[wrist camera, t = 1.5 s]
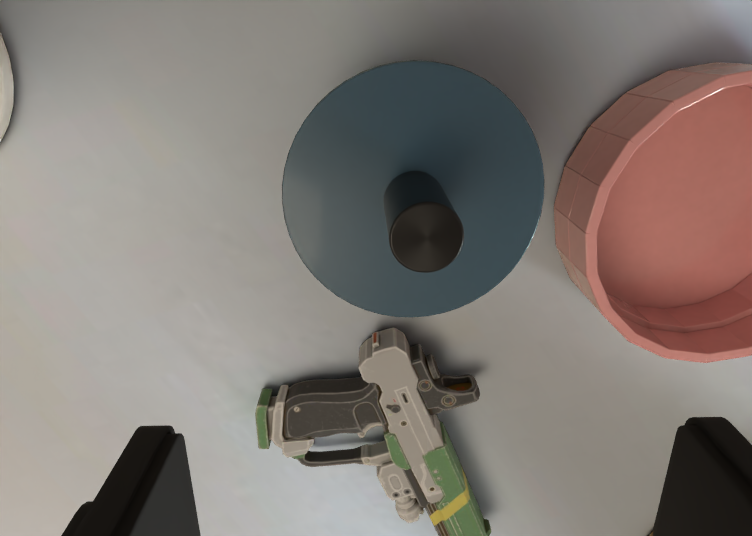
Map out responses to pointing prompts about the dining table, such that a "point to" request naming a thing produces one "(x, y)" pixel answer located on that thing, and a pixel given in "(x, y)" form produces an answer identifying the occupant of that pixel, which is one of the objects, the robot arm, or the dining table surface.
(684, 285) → the bowl
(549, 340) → the dining table surface
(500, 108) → the lid
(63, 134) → the dining table surface
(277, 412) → the futuristic handgun
